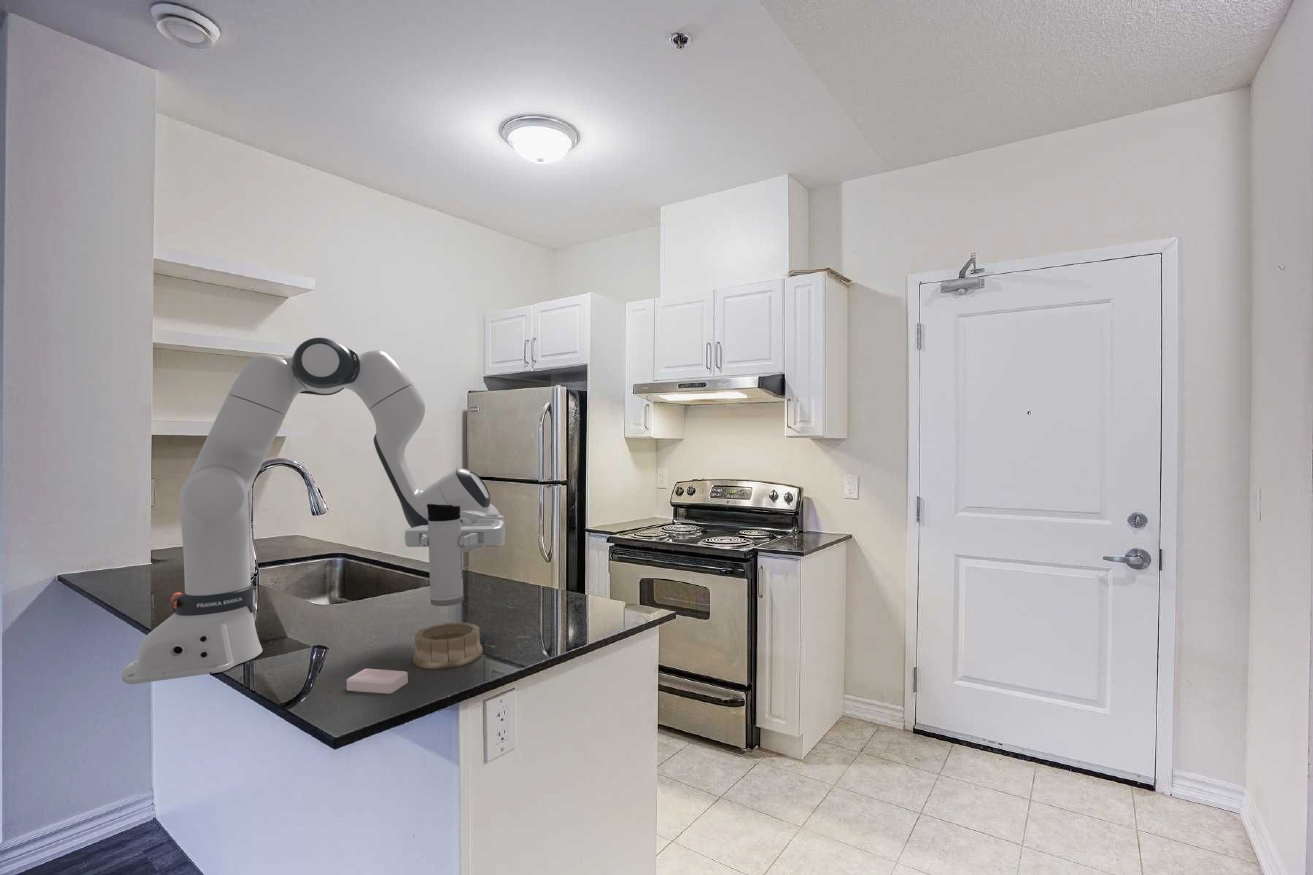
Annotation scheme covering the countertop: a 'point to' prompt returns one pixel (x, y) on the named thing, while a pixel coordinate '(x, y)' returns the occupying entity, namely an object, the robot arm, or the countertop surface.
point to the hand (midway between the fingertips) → (443, 542)
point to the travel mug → (445, 555)
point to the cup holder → (447, 645)
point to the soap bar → (377, 681)
